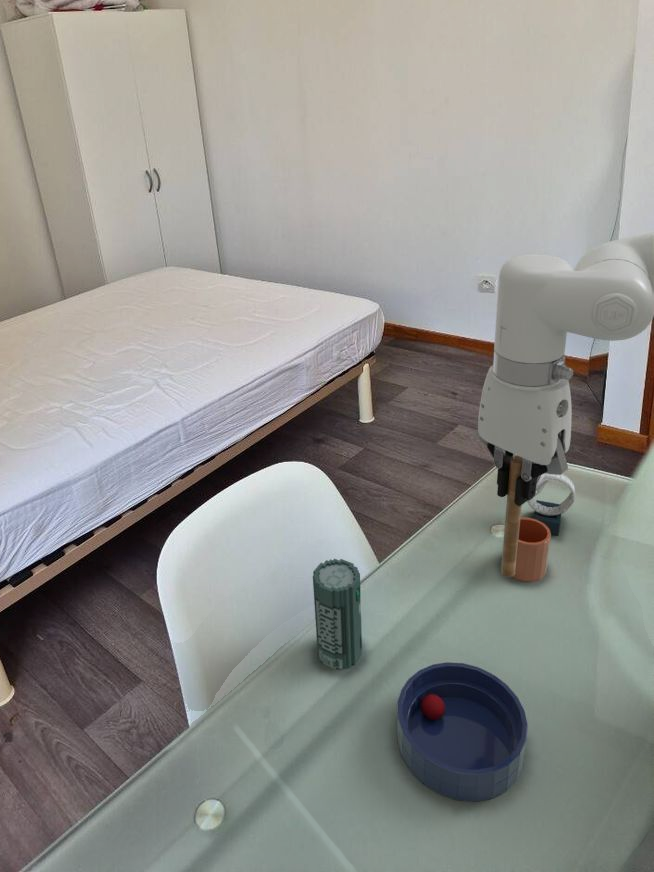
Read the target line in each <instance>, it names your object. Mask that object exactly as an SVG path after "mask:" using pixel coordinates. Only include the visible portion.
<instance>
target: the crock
mask: <svg viewBox="0 0 654 872" xmlns="http://www.w3.org/2000/svg"><path fill="white" fill-rule="evenodd" d="M551 538H552V535H551V532H550V529H549V528H548V527H547V526H546V525H545V524H544V523H542V522H540V521H538V520H536V519H533V517H532V518H531V517H520V527H519V538H518V548H517V558H516V568H515V575H514V576H513V577H512V578H513V579H515V580H517V581H521V582H525V583H533V582H537V581H540V580H543V578H544V577H545V576H546V573H547V569H548V560H549V552H550V546H551Z"/></svg>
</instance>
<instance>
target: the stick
mask: <svg viewBox="0 0 654 872" xmlns="http://www.w3.org/2000/svg"><path fill="white" fill-rule="evenodd" d="M522 462H523V458H522V457H520V456H518V455H515V456H512V457H511V459H510V471H509V482H508V494H507V495H506V504H505V505H506V506H505V519H504V530H503V543H502V553H501V555H502V556H501V565H500V574H501V575H502V576H504V577H506V578H513V576H514V575H515V568H516V558H517V548H518V538H519V527H520V518H522V517H521V516H522V507H523V504H522V505H521V506H518V505H516V504H515V503H514V499H515V488H516V479H517V478H518V477H519V476H521V471H522Z"/></svg>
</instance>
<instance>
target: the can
mask: <svg viewBox="0 0 654 872" xmlns="http://www.w3.org/2000/svg"><path fill="white" fill-rule="evenodd" d="M312 574H313V575H312V585H313V586H312V587H313V600H314V601H313V602H314V616H315V617H314V618H315V633H316V634H315V635H316V648H317V649H316V650H317V656H318V659H319V662H320V663H321V664H323V665H325V666H327V667H329V668H332V669H334V670H336V669H339V670H341V671H342V670H343V669H345V670H346V669H347V668H349V669H350V668H351V667H352V666H353V665H354V666H356V665H357V663H358V662H359V660H360V658H361V657H362V656H363V652H362V651H363V641H362V640H363V637H362V636H363V635H362V634H363V633H362V600H361V599H362V597H361V573H360V571H359V569H358V567H357V566H355V563H353V562H351V561H347V560H346V559H342V558H340V559H338V558H337V559H336V558H333V559H329V560H327V559H326V560H325V561H324V562H320V563H319V564H318V565H317V567H315V569H314V570H313V572H312Z"/></svg>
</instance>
